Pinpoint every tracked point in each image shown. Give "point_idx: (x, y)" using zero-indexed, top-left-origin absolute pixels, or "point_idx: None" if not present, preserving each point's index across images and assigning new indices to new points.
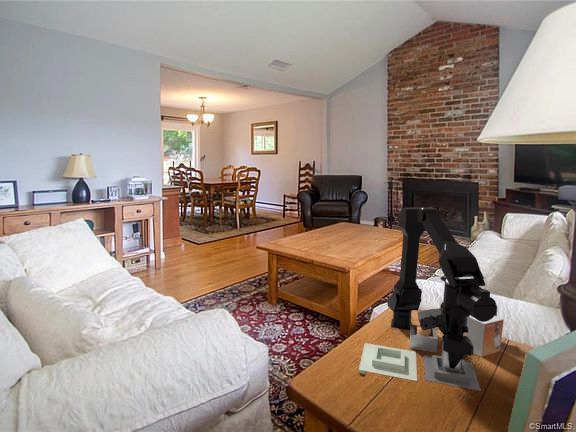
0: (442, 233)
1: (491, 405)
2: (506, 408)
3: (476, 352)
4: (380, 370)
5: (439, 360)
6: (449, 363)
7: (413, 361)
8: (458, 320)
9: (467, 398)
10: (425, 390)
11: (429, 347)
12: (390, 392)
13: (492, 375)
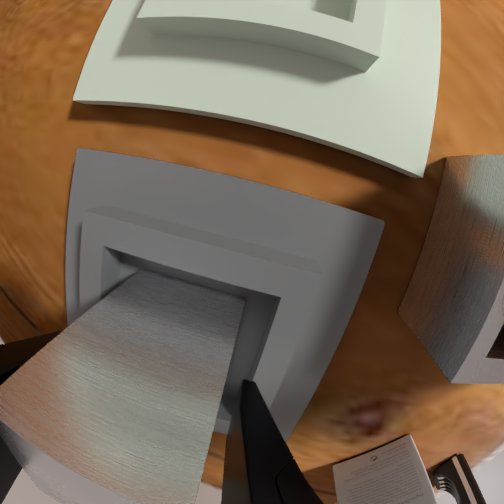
0: None
1: None
2: None
3: (357, 472)
4: None
5: (273, 308)
6: (56, 333)
7: (285, 108)
8: None
9: (48, 309)
10: (54, 142)
11: (438, 290)
12: (59, 13)
13: (224, 459)
